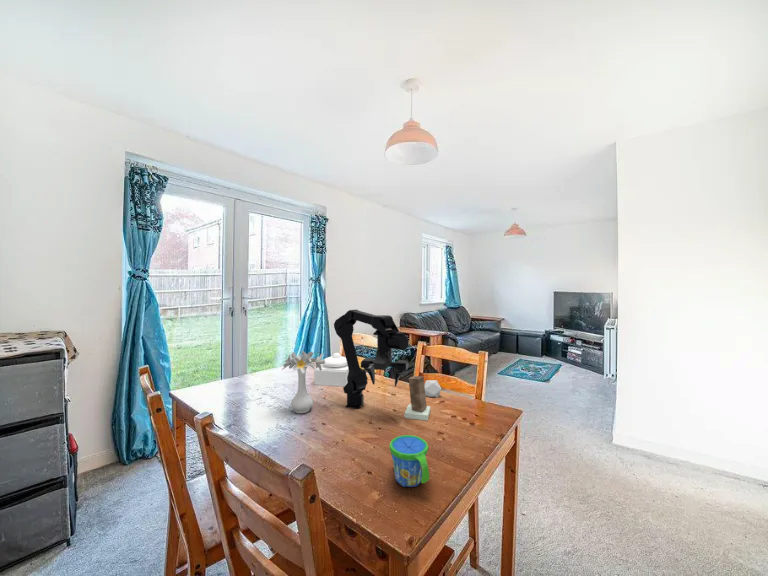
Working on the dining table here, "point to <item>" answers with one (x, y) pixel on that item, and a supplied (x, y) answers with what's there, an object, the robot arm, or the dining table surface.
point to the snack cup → (409, 460)
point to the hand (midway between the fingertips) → (384, 385)
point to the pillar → (417, 393)
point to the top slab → (417, 413)
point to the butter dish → (332, 372)
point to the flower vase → (302, 379)
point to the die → (432, 388)
